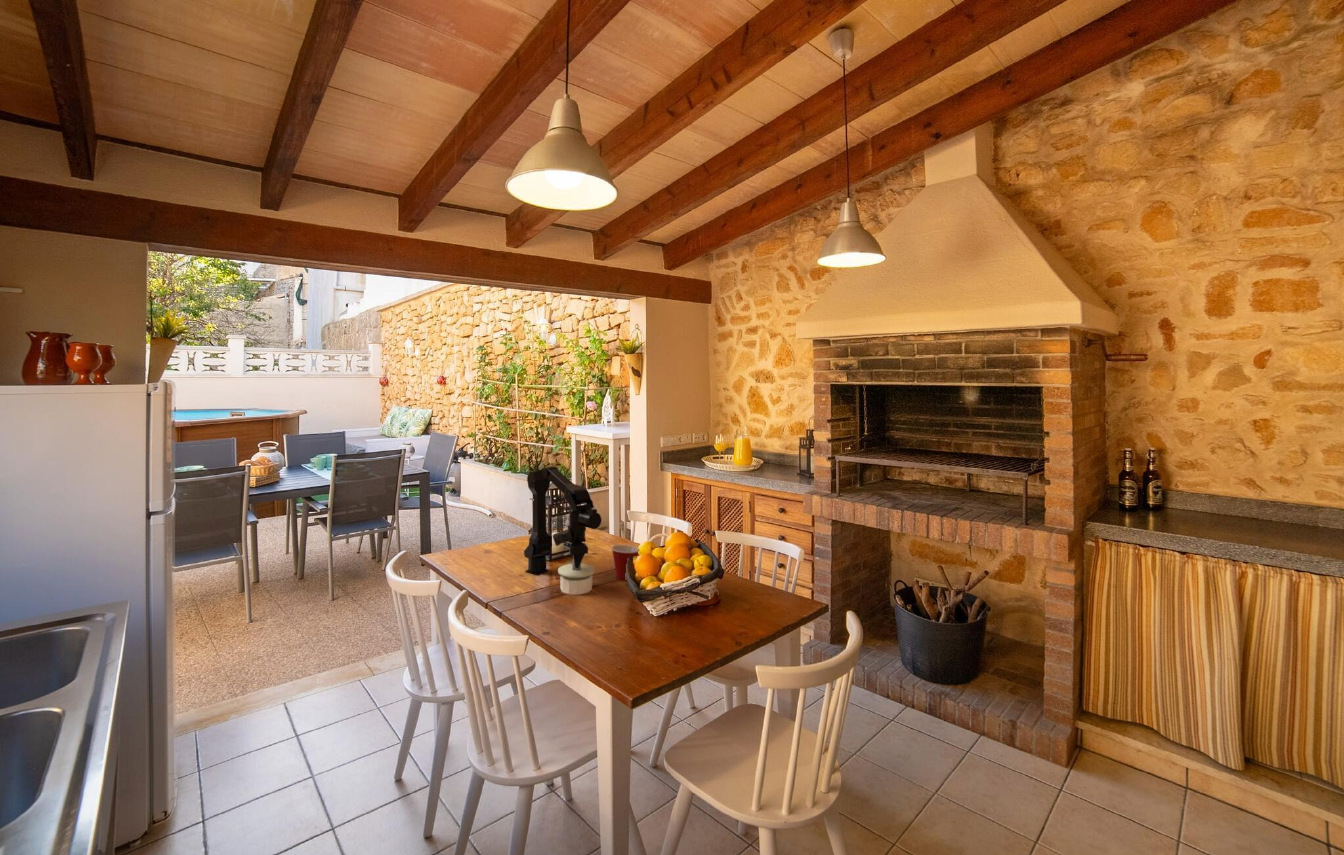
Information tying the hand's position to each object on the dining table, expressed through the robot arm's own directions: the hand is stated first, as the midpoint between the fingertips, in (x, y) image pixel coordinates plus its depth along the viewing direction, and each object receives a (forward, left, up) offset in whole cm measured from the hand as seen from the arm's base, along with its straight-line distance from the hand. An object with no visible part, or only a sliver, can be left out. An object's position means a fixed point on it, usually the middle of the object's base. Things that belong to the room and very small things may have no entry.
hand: (576, 566), depth 213 cm
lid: (0, 0, -2) cm, 2 cm away
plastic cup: (+7, +20, -9) cm, 23 cm away
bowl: (0, 0, -8) cm, 8 cm away
